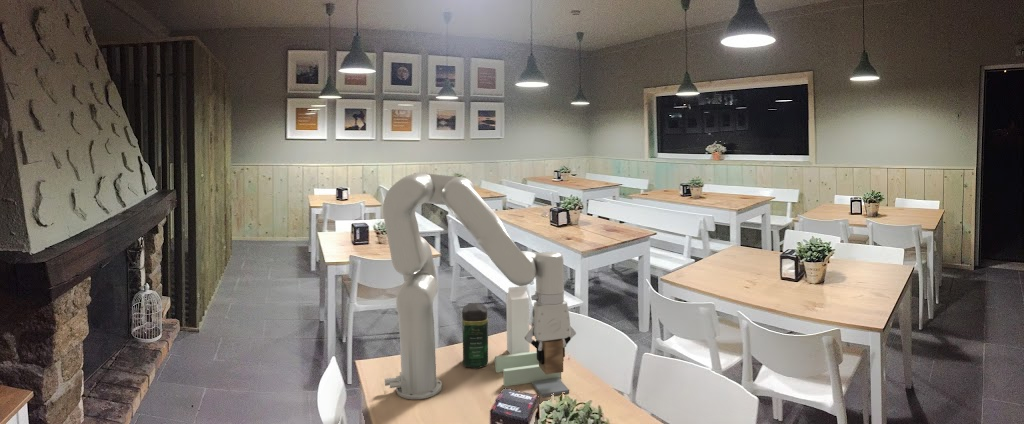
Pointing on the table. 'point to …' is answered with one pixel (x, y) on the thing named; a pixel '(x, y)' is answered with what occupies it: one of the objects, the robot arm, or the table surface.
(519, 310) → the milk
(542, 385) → the coaster
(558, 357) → the walnut block
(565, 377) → the table surface
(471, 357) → the coffee jar
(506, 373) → the pale green u-shaped bracket
